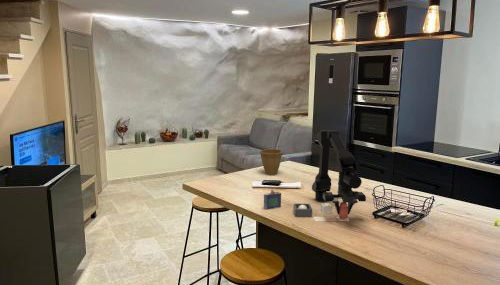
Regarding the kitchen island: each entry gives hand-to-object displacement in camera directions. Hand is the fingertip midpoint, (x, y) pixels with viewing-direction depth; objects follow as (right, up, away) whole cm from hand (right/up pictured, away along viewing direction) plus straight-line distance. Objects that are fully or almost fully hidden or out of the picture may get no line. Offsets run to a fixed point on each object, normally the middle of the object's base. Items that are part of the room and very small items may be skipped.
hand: (343, 214), depth 173 cm
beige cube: (-6, -1, +9) cm, 11 cm away
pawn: (0, -1, 0) cm, 1 cm away
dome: (-18, -1, +7) cm, 19 cm away
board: (-10, -3, +5) cm, 11 cm away
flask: (-32, -1, +16) cm, 36 cm away
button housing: (-18, -1, +7) cm, 19 cm away
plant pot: (-29, +12, +82) cm, 88 cm away
